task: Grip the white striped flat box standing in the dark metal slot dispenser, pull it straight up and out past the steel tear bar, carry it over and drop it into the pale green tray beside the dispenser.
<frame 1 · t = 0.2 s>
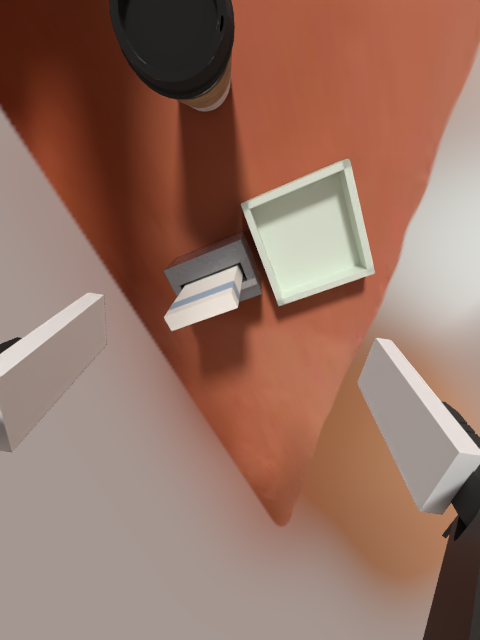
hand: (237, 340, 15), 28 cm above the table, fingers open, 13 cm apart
coffee cup: (204, 79, 33), on the table
dispenser: (218, 268, 42), on the table
white striped flat box: (218, 270, 41), point 1 cm above the table, touching dispenser
tray: (306, 235, 39), on the table
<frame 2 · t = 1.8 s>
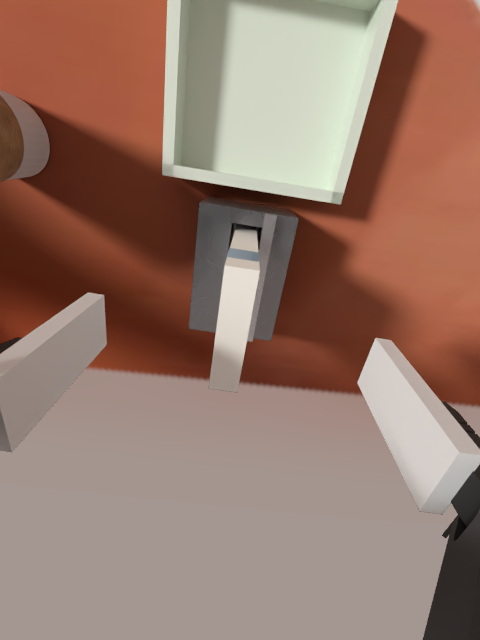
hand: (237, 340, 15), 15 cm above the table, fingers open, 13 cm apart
coffee cup: (15, 137, 25), on the table
dispenser: (241, 258, 28), on the table
white striped flat box: (241, 261, 27), point 1 cm above the table, touching dispenser
tray: (266, 98, 23), on the table
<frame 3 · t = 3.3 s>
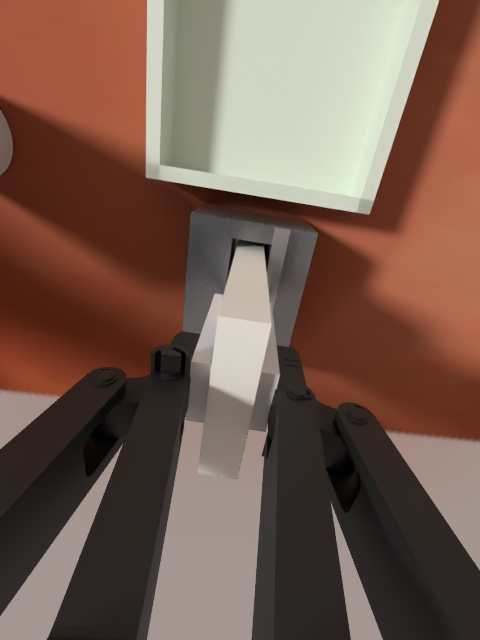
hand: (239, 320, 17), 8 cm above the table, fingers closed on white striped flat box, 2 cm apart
dispenser: (244, 276, 24), on the table
white striped flat box: (244, 280, 23), point 1 cm above the table, touching dispenser, gripper
tray: (276, 82, 18), on the table
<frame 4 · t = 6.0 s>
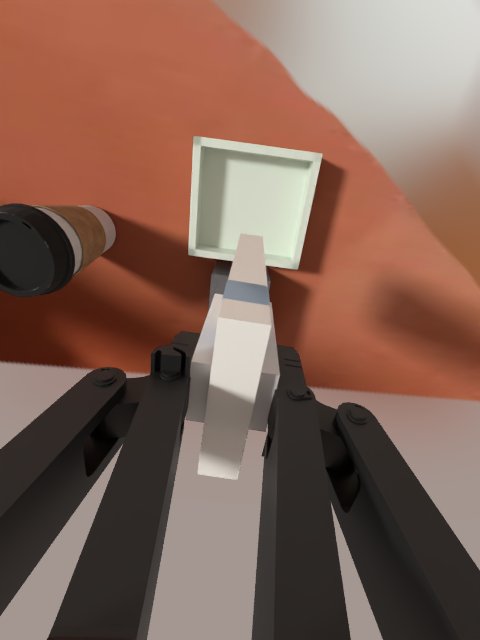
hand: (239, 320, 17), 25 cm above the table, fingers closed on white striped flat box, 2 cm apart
coffee cup: (94, 229, 40), on the table
dispenser: (238, 298, 43), on the table
white striped flat box: (244, 281, 23), point 18 cm above the table, touching gripper
tray: (250, 205, 37), on the table
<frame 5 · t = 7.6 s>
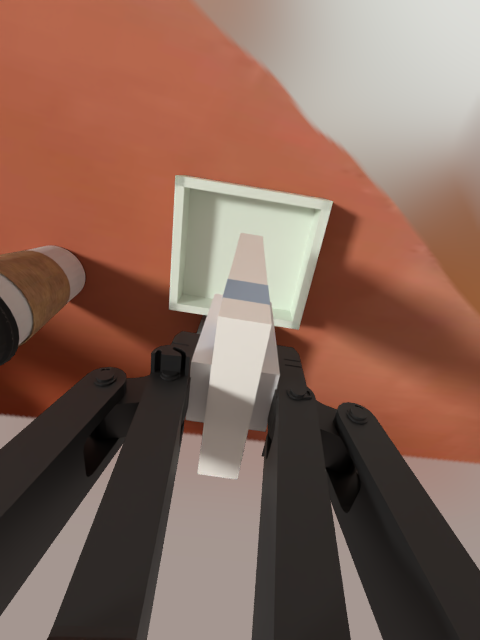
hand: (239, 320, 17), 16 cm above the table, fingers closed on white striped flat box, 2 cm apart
coffee cup: (60, 271, 33), on the table
white striped flat box: (244, 280, 23), point 9 cm above the table, touching gripper
tray: (244, 251, 31), on the table
when the fingers open (9 cm above the table, at t = 8.8 s): white striped flat box drops 2 cm, resting on tray.
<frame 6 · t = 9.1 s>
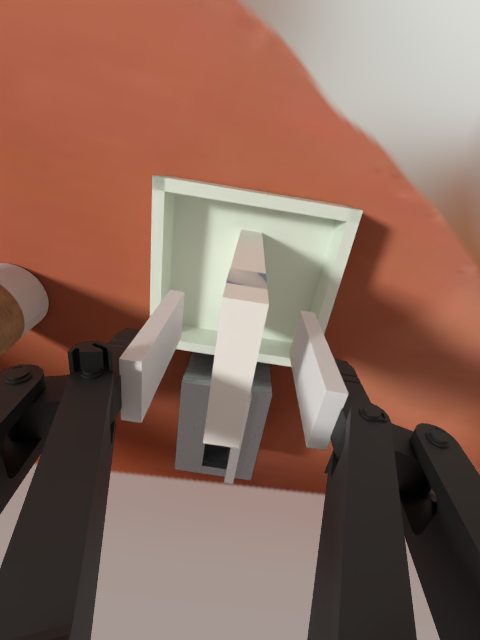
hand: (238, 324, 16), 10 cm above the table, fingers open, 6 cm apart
coffee cup: (17, 294, 27), on the table
dispenser: (225, 389, 30), on the table
white striped flat box: (244, 274, 24), point 1 cm above the table, touching tray
tray: (245, 271, 25), on the table
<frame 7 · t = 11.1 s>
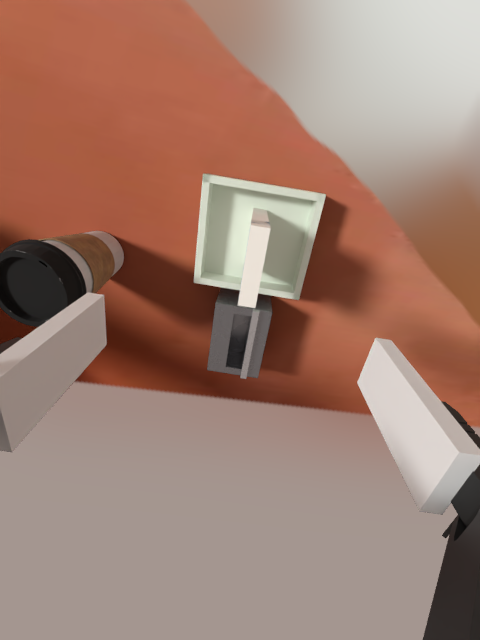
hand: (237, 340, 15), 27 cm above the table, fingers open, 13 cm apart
coffee cup: (103, 252, 41), on the table
dispenser: (240, 322, 44), on the table
white striped flat box: (254, 237, 38), point 1 cm above the table, touching tray
tray: (255, 236, 39), on the table
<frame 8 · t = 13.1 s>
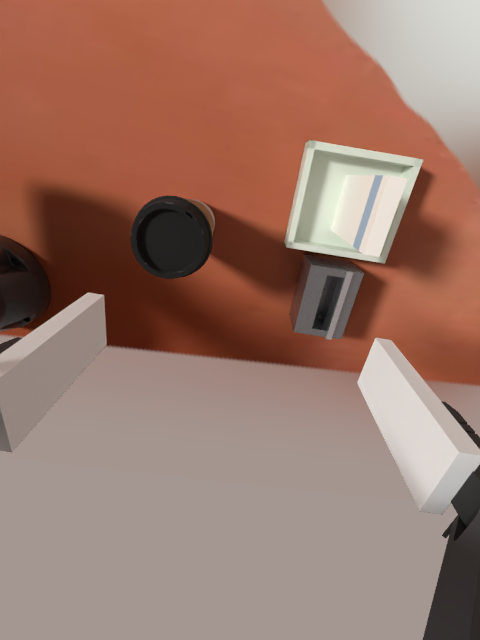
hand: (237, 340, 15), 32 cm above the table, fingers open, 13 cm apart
coffee cup: (195, 221, 43), on the table
dispenser: (318, 289, 46), on the table
white striped flat box: (344, 204, 40), point 1 cm above the table, touching tray
tray: (342, 204, 41), on the table
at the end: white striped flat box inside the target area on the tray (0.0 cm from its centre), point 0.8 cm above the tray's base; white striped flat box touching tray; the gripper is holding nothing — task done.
